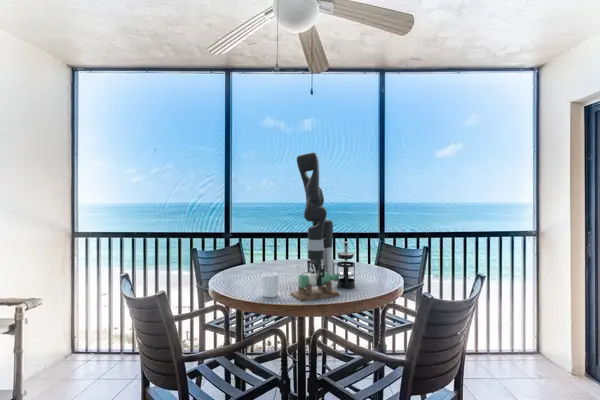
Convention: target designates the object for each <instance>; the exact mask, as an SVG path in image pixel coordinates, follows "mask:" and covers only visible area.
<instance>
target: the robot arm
mask: <svg viewBox="0 0 600 400" xmlns="http://www.w3.org/2000/svg"><path fill="white" fill-rule="evenodd" d="M296 164H297V168H298V171H299V174H300V178H301V181H302V183H303V188H304V192H305V201H306V203H305V208H304V212H303V218H304V220H306V221H307V222H312V226H309V227H308V229H307V259H308V260H307V262H306V263H307V274H312V273H315V274H316V276H317V286H316V287H318V286H321V285H322V277H324V273H325V272H328V273H329V275H335V269H334V270H333V264H334V263H335V262H334V261H335V260H334V259H333V238H334V237H333V233H334V224H333V220H331V219H327V214H328V213H327V208H326V207H324V202H325V198H324V193H323V190H322V188H321V186H320V161H319V157H318V155H317V153H316V152H309V153H303V154H299V155H297V157H296ZM311 171H312V174H311V176H309V175H308V173H307V172H311ZM324 236H325V237H324ZM318 273H319V275H318Z"/></svg>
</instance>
